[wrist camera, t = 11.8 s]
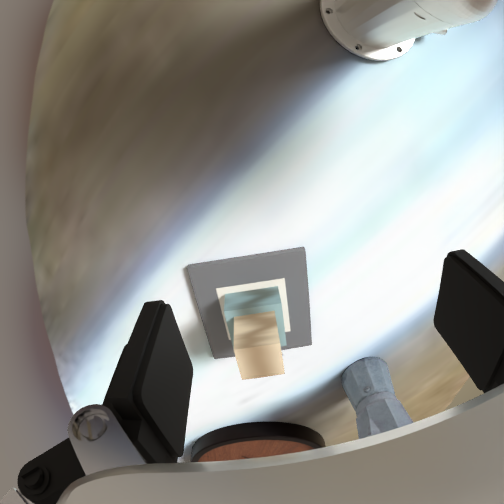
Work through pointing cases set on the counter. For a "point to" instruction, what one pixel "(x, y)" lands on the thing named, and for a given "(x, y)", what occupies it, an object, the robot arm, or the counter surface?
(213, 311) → the build board
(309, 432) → the round serving tray
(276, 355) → the maple block
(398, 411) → the moka pot
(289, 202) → the counter surface
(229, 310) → the teal base block
